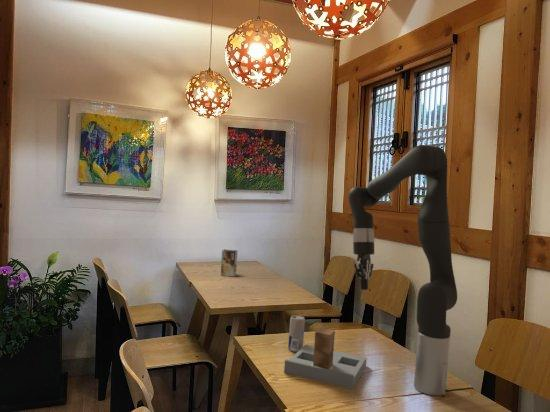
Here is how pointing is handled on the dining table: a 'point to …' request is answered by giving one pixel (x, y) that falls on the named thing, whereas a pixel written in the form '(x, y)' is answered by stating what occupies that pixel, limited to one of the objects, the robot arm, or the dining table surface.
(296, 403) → the dining table surface
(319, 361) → the walnut block
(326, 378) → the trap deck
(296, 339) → the energy drink
